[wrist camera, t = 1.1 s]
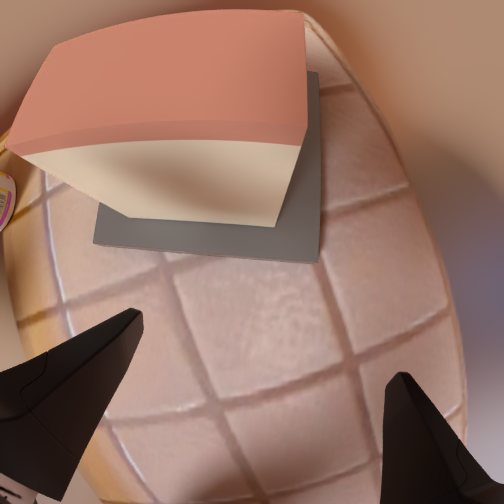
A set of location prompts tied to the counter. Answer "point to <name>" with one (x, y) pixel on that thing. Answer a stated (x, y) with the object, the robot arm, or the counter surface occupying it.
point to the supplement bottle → (6, 198)
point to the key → (174, 115)
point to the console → (234, 235)
